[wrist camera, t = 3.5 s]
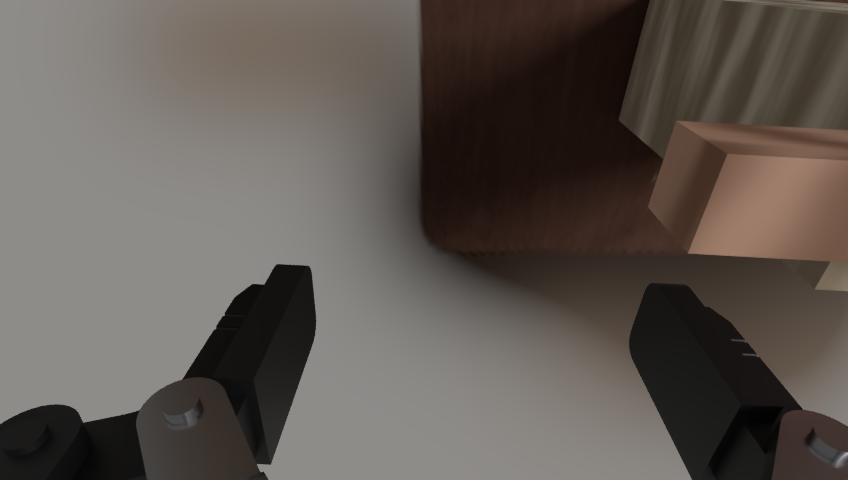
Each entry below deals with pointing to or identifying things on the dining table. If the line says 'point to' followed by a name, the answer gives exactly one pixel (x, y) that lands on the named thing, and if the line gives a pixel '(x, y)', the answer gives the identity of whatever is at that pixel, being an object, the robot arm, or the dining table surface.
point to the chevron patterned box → (742, 77)
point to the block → (755, 191)
